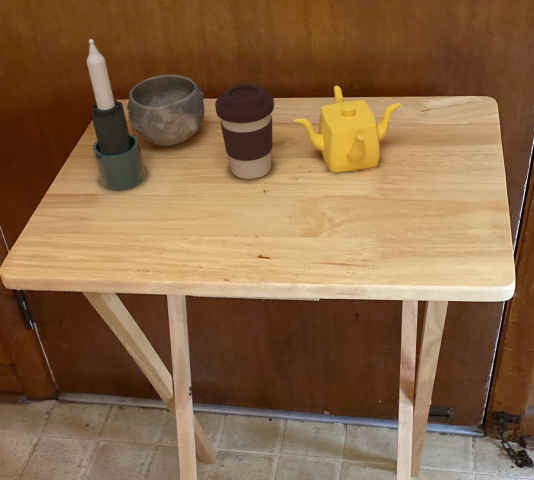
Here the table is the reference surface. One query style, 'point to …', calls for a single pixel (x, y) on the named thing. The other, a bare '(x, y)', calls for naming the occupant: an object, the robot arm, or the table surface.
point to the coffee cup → (247, 129)
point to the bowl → (166, 109)
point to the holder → (121, 167)
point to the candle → (106, 108)
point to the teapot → (348, 134)
